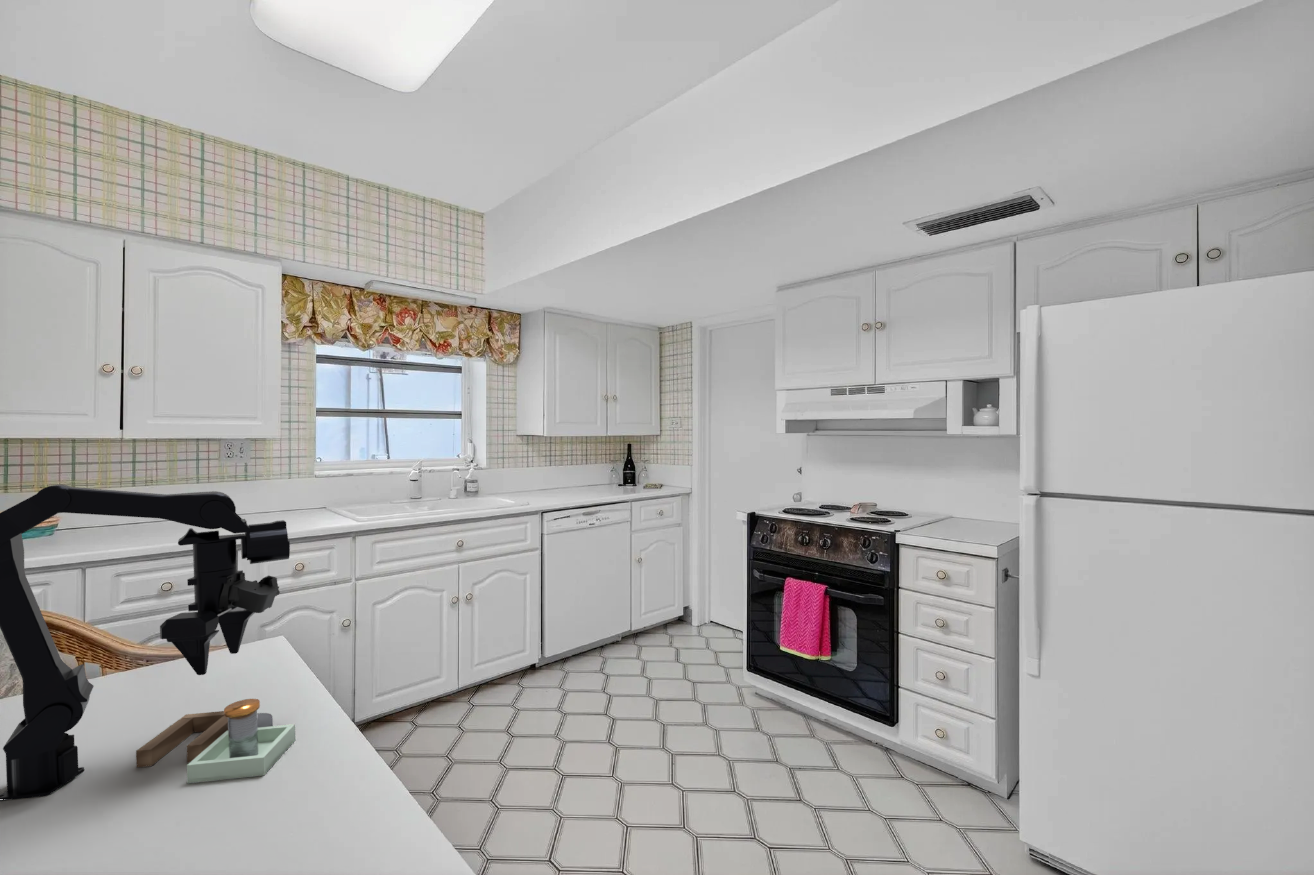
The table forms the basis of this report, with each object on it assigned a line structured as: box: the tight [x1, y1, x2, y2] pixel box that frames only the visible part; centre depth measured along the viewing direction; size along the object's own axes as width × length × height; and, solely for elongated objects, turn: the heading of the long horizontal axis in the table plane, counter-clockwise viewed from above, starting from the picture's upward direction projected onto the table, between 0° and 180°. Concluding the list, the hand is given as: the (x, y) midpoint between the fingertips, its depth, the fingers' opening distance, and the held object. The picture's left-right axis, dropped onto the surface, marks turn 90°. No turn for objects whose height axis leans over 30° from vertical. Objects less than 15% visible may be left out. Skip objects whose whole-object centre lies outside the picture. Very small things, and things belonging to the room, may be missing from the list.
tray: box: [186, 723, 297, 784], centre depth 89 cm, size 10×10×3 cm
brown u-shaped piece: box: [135, 710, 228, 768], centre depth 95 cm, size 9×12×2 cm
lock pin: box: [223, 698, 261, 758], centre depth 89 cm, size 4×4×8 cm
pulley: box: [257, 712, 274, 728], centre depth 97 cm, size 6×6×3 cm
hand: (218, 663), depth 97 cm, fingers open, 9 cm apart
